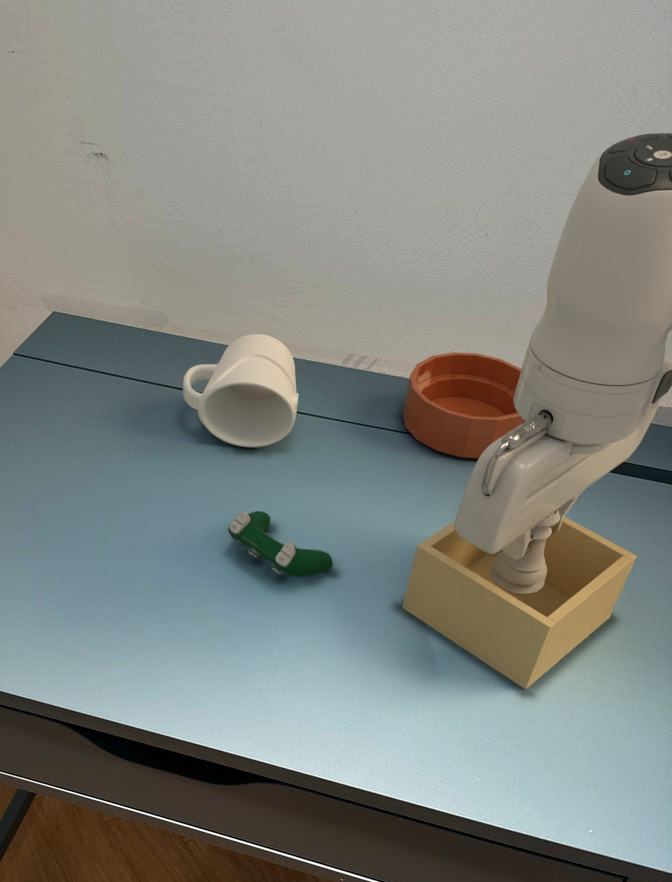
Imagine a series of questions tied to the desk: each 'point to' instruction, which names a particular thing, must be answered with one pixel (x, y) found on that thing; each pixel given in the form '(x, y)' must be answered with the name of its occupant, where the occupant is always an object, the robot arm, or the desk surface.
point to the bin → (517, 598)
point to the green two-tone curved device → (277, 547)
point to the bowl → (461, 402)
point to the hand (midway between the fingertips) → (530, 541)
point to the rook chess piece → (525, 563)
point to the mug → (247, 392)
